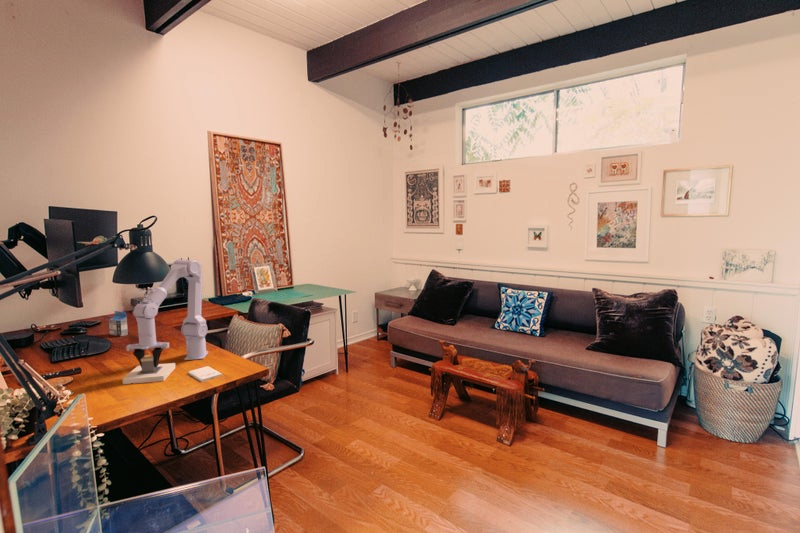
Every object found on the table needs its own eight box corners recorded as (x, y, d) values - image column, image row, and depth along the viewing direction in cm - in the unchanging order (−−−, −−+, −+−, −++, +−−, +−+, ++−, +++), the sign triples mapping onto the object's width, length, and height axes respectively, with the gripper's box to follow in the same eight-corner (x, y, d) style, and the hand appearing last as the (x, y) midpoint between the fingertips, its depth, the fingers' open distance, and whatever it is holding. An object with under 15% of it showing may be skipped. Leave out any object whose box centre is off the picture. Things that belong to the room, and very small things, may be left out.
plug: (146, 372, 162) (144, 355, 161) (158, 371, 163) (156, 354, 162) (142, 376, 158) (140, 359, 157) (154, 375, 159) (152, 358, 158)
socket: (138, 370, 166) (137, 365, 166) (175, 367, 169) (175, 362, 169) (122, 384, 152) (122, 378, 152) (163, 380, 155) (163, 375, 155)
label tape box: (109, 335, 214) (107, 312, 213) (116, 333, 218) (114, 310, 216) (121, 336, 211) (119, 313, 210) (128, 334, 215) (126, 312, 214)
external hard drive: (208, 369, 169) (222, 377, 161) (188, 375, 163) (201, 383, 154) (208, 365, 169) (222, 373, 160) (187, 371, 162) (201, 379, 154)
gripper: (121, 337, 153) (124, 372, 155) (163, 335, 156) (166, 368, 158) (129, 332, 160) (132, 365, 162) (170, 330, 163) (172, 362, 165)
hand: (149, 366), depth 160 cm, fingers closed on plug, 4 cm apart
